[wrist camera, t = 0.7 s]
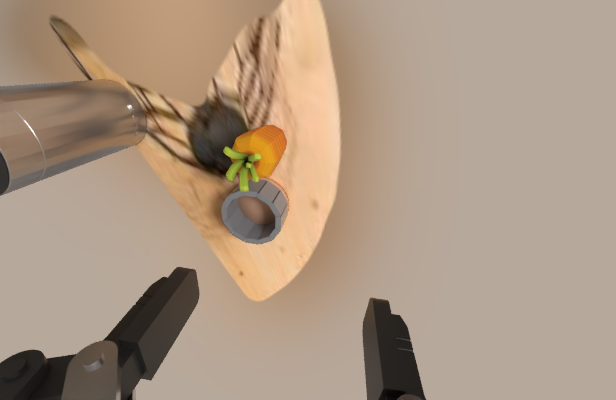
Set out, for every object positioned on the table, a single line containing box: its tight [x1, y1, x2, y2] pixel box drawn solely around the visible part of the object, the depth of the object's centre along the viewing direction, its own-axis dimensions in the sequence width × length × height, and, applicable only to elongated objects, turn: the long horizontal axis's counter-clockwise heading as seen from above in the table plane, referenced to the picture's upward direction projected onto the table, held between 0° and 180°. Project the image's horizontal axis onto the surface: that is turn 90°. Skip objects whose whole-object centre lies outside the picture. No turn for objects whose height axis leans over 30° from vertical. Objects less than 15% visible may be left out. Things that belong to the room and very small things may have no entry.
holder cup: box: [221, 177, 289, 244], centre depth 38 cm, size 9×9×5 cm
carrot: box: [223, 125, 287, 192], centre depth 29 cm, size 5×5×15 cm
